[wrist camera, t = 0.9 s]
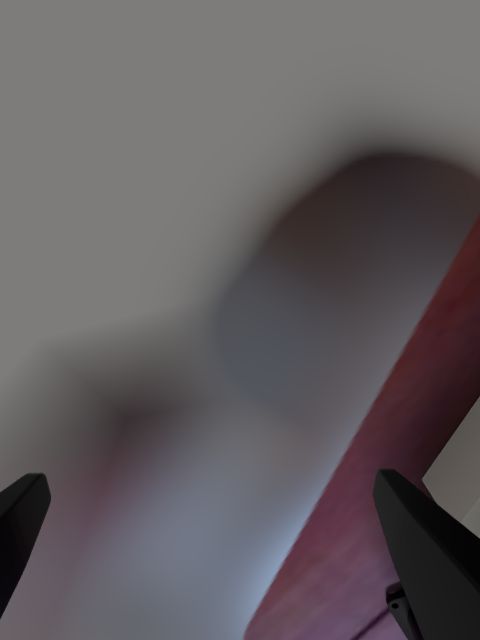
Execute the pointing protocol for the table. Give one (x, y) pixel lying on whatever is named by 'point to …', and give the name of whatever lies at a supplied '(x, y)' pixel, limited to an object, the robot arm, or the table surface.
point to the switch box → (459, 473)
